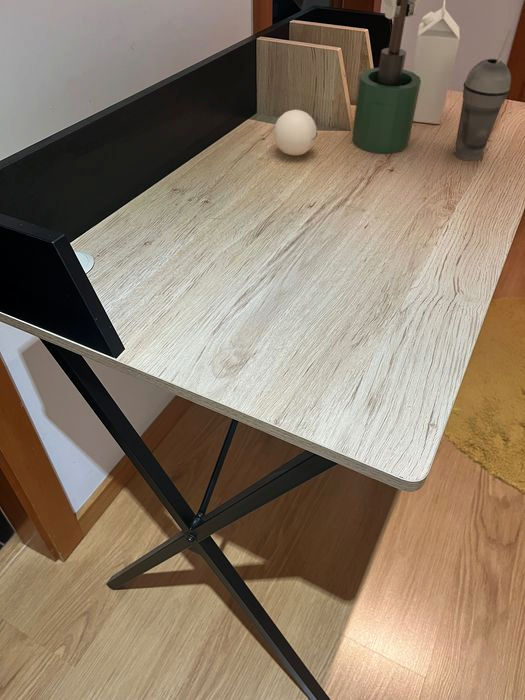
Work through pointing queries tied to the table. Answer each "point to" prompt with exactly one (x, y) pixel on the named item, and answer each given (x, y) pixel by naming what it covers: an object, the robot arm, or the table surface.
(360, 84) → the jar
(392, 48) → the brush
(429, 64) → the milk carton
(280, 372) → the table surface
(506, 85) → the beverage cup
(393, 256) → the table surface
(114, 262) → the table surface
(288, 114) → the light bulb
